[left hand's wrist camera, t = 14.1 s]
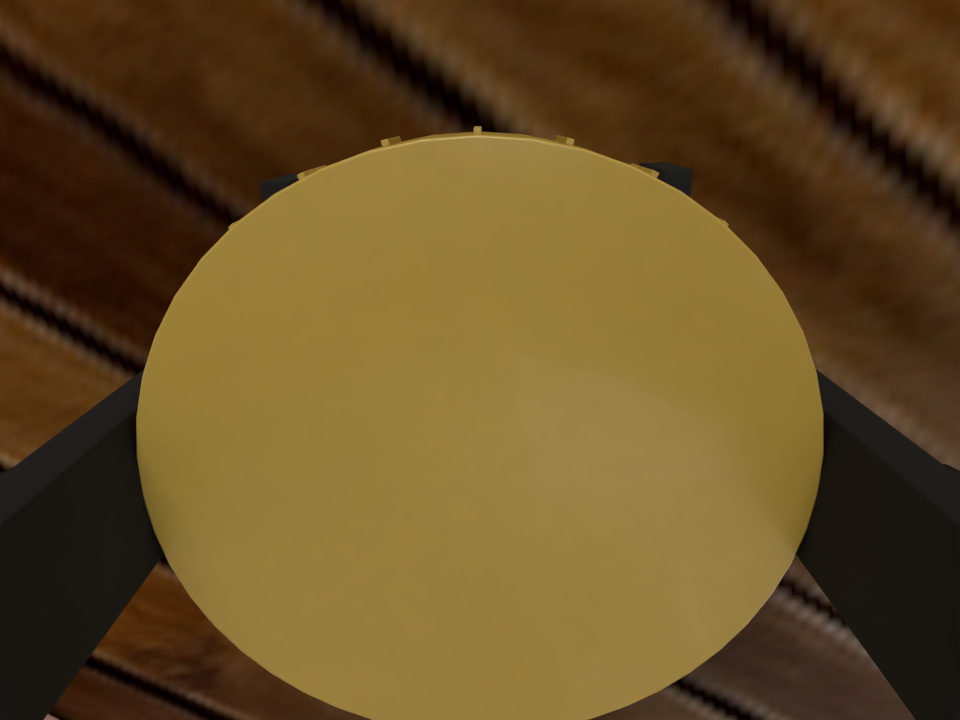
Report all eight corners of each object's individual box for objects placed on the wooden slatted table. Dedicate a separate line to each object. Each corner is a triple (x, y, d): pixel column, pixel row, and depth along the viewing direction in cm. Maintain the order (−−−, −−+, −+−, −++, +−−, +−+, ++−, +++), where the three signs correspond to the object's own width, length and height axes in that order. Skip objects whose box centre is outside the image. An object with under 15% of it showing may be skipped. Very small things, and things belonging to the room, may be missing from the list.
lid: (903, 334, 11) (987, 376, 9) (568, 723, 15) (580, 809, 13) (339, -20, 9) (305, -54, 7) (108, 528, 13) (46, 596, 11)
